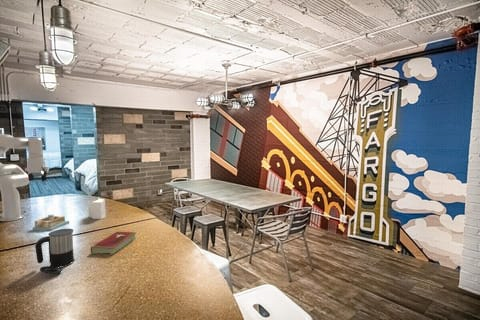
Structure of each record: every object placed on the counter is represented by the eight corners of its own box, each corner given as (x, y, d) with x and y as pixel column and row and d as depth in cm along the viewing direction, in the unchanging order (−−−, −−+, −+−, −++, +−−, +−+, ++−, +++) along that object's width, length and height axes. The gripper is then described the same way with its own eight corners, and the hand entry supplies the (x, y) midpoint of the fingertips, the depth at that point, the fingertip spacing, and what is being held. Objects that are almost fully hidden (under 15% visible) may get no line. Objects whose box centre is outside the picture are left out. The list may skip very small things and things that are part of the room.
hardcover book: (90, 254, 124) (90, 246, 124) (116, 238, 145) (116, 230, 145) (113, 255, 123) (113, 247, 122) (136, 238, 144) (135, 231, 143)
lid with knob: (32, 229, 157) (31, 218, 157) (51, 222, 171) (51, 211, 170) (51, 230, 156) (50, 218, 155) (69, 223, 170) (68, 212, 169)
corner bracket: (101, 218, 179) (100, 202, 178) (85, 218, 179) (85, 202, 178) (109, 214, 190) (108, 198, 189) (94, 214, 190) (94, 198, 189)
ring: (35, 226, 158) (34, 221, 158) (49, 221, 169) (49, 216, 169) (50, 227, 157) (50, 221, 157) (64, 221, 168) (64, 216, 168)
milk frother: (71, 256, 121) (69, 226, 120) (83, 267, 111) (81, 234, 110) (33, 268, 110) (31, 235, 109) (43, 281, 100) (40, 245, 99)
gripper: (19, 156, 169) (21, 181, 170) (42, 156, 167) (44, 181, 168) (29, 155, 176) (31, 179, 178) (52, 155, 174) (53, 180, 176)
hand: (37, 180), depth 173 cm, fingers open, 9 cm apart
